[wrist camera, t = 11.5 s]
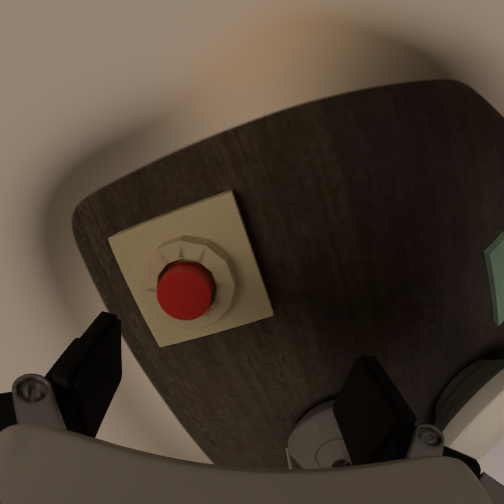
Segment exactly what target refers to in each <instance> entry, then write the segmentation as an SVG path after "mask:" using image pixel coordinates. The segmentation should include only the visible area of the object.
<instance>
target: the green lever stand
mask: <svg viewBox="0 0 504 504" xmlns="http://www.w3.org/2000/svg"><path fill="white" fill-rule="evenodd" d="M483 253H484V257H485V262H486V268H487V273H488V279H489V286H490V292H491V300H492V309H493V319H494V323H496V324H497V325H498V326H499V325H500V324H501V323H502V322H503V321H504V231H503V232H502V233H501V234H500V235H499V236H498V237H497V238H496V239H495V240H494V241H493V242H492V243H491V244H490V245H489V246H488V247H487V248H486V249H485V250H484V251H483Z"/></svg>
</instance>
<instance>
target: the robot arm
mask: <svg viewBox="0 0 504 504" xmlns="http://www.w3.org/2000/svg"><path fill="white" fill-rule="evenodd" d="M121 361H122V360H121V320H119V319H117V315H115V314H111V313H108V312H104V311H103V312H101V313H100V314H99V316H98V317H97V318H96V319H95V320H94V321H93V323H92V324H91V325H90V326H89V328H88V329H87V330H86V331H85V332H84V334H83V335H82V336H81V337H80V338H76V339H75V340H73V342H72V343H71V344H70V345H69V346H68V348H67V349H66V350H65V351H64V353H63V354H62V355H61V356H60V358H59V359H58V360H57V361H56V363H55V364H54V365H53V367H52V368H51V369H50V370H49V372H48V373H47V374H46V376H45V377H43V376H41V375H38V374H25V375H23V376H20V377H18V378H17V379H16V380H15V381H14V383H13V385H12V392H8V393H1V394H0V504H504V486H503V485H502V484H500V483H499V482H497V481H496V480H494V479H493V478H492V477H490V476H489V475H487V474H486V473H484V472H483V473H482V474H480V472H481V469H480V465H479V464H478V462H477V460H476V459H474V458H472V457H470V456H468V455H466V454H463V453H461V452H458V451H456V450H454V449H451V448H449V447H447V446H444V436H443V433H442V432H441V431H440V430H439V429H438V428H437V427H435V426H433V425H431V424H427V423H422V424H419V425H418V426H415V425H414V423H415V422H416V420H417V418H416V417H415V415H414V414H413V412H412V410H411V409H410V407H409V406H408V404H407V403H406V401H405V400H404V398H403V397H402V395H401V394H400V392H399V391H398V389H397V388H396V386H395V385H394V383H393V382H392V380H391V379H390V377H389V376H388V374H387V373H386V371H385V370H384V368H383V367H382V365H381V364H380V362H379V361H378V360H377V358H376V357H375V356H369V355H362V356H360V357H359V358H357V359H356V360H355V362H354V364H353V366H352V369H351V371H350V373H349V375H348V377H347V379H346V381H345V383H344V385H343V387H342V389H341V391H340V393H339V395H338V397H337V399H336V400H335V402H334V404H333V413H334V416H335V419H336V421H337V424H338V427H339V429H340V432H341V435H342V437H343V440H344V443H345V446H346V448H347V451H348V454H349V456H350V459H351V462H352V465H353V466H346V467H334V468H318V469H260V468H244V467H232V466H222V465H214V464H206V463H199V462H192V461H186V460H181V459H175V458H170V457H165V456H160V455H156V454H152V453H147V452H143V451H139V450H135V449H131V448H127V447H124V446H120V445H116V444H113V443H110V442H106V441H103V440H100V439H96V438H95V437H96V434H97V432H98V430H99V427H100V425H101V423H102V421H103V418H104V416H105V414H106V411H107V409H108V407H109V405H110V403H111V401H112V398H113V396H114V394H115V392H116V390H117V387H118V386H119V383H120V381H121V377H122V362H121Z"/></svg>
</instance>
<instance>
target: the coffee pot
mask: <svg viewBox="0 0 504 504" xmlns="http://www.w3.org/2000/svg"><path fill="white" fill-rule="evenodd" d="M334 402H335V400H331V401H328V402H325V403H322V404H320V405H318V406H316V407H315V408H313V409H312V410H310V411H309V412H308V413H307V414H306V415H305V416H304V417H303V418H302V419H301V420H300V421H299V422H298V423H297V424H296V425H295V426H294V428H293V430H292V431H291V433H290V436H289V439H288V446H287V447H288V450H289V453H290V455H291V456H292V457H293V458H294V460H295V461H296V462H297V463H298V464H299V465H300V466H301V468H302V469H318V468H334V467H346V466H353V465H352V462H351V459H350V456H349V454H348V451H347V448H346V446H345V443H344V440H343V437H342V435H341V432H340V429H339V427H338V424H337V421H336V419H335V416H334V413H333V404H334Z"/></svg>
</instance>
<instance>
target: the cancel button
mask: <svg viewBox="0 0 504 504" xmlns="http://www.w3.org/2000/svg"><path fill="white" fill-rule="evenodd" d="M212 291H213V284H212V280H211V278H210V276H209V274H208V273H207V271H206V270H205V269H204V268H202V267H201V266H199V265H197V264H195V263H191V262H180V263H176V264H174V265H172V266H171V267H170V268H168V270H167V271H166V272H165V274H164V275H163V277H162V278H161V280H160V282H159V284H158V287H157V299H158V302H159V304H160V306H161V308H162V309H163V310H164V311H165V312H166V313H167V314H168V315H170V316H171V317H173V318H176V319H179V320H194V319H196V318H199V317H200V316H202V315H203V314H204V313H205V312H206V311H207V310H208V308H209V306H210V302H211V297H212Z"/></svg>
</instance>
